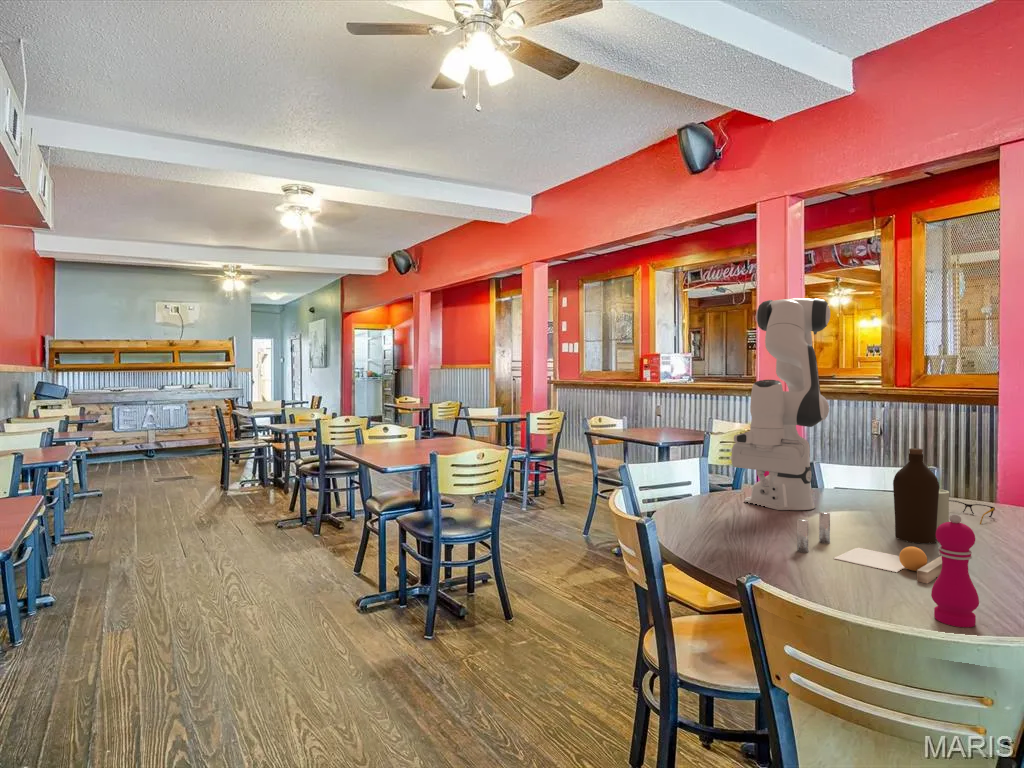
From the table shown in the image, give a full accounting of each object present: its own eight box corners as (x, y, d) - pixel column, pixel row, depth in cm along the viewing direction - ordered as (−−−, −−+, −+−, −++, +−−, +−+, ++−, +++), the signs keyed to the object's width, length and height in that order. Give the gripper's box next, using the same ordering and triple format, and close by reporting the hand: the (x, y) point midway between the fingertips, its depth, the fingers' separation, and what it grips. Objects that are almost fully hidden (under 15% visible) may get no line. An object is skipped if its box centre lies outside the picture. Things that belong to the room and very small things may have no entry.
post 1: (795, 550, 159) (795, 520, 159) (800, 549, 161) (800, 518, 160) (805, 553, 157) (805, 522, 157) (810, 551, 159) (810, 520, 158)
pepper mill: (931, 610, 119) (931, 508, 119) (977, 618, 115) (978, 512, 115) (930, 623, 113) (931, 515, 113) (980, 632, 109) (980, 520, 109)
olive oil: (923, 546, 162) (924, 452, 161) (884, 537, 171) (884, 448, 171) (947, 541, 167) (948, 449, 166) (907, 532, 176) (908, 445, 176)
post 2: (817, 542, 167) (817, 512, 167) (821, 540, 169) (821, 511, 168) (827, 544, 165) (827, 514, 165) (831, 542, 167) (831, 513, 166)
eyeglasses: (995, 518, 193) (996, 506, 193) (980, 526, 185) (980, 513, 185) (943, 510, 205) (943, 499, 205) (926, 517, 196) (926, 504, 196)
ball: (895, 547, 143) (922, 554, 139) (905, 540, 146) (932, 547, 142) (894, 569, 144) (920, 577, 140) (904, 562, 147) (930, 570, 143)
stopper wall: (916, 581, 136) (917, 570, 136) (946, 562, 148) (946, 552, 148) (927, 583, 134) (927, 572, 134) (956, 564, 147) (956, 554, 147)
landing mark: (833, 558, 152) (833, 558, 152) (857, 548, 161) (857, 547, 161) (896, 572, 141) (896, 571, 141) (918, 560, 150) (918, 559, 150)
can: (955, 534, 174) (956, 492, 174) (919, 532, 176) (919, 491, 175) (940, 526, 183) (940, 486, 183) (905, 525, 185) (906, 485, 184)
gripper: (809, 439, 166) (809, 490, 166) (740, 434, 182) (740, 480, 182) (798, 441, 162) (798, 493, 162) (728, 435, 178) (728, 483, 178)
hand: (767, 486), depth 173 cm, fingers closed
